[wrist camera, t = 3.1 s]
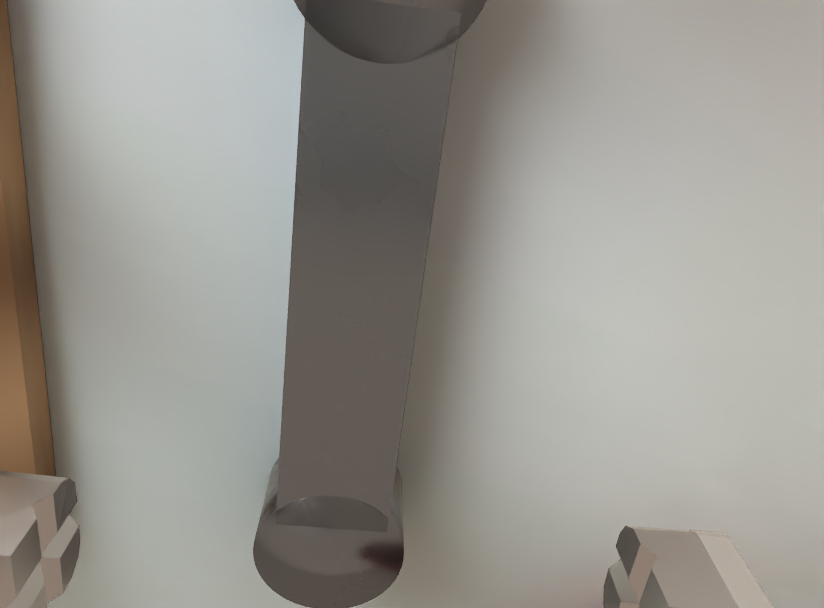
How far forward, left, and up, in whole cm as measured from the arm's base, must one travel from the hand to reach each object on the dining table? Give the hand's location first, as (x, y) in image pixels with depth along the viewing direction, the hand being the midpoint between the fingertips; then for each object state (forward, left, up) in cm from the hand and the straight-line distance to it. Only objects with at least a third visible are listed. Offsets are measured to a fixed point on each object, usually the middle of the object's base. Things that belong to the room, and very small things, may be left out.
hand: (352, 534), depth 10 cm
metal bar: (0, 0, -11) cm, 11 cm away
